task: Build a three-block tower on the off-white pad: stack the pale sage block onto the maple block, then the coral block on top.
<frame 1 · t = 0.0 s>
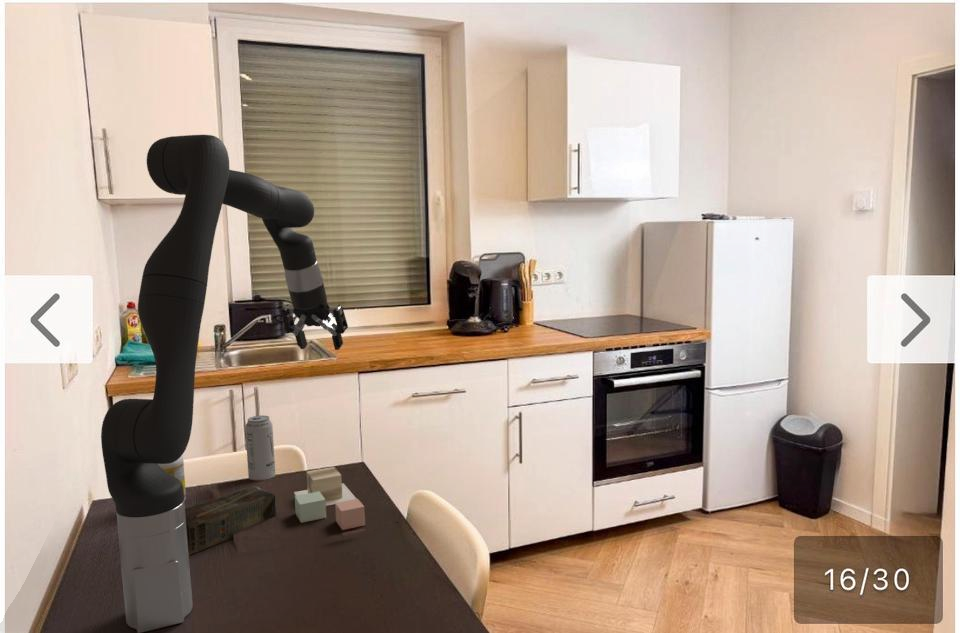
hand: (321, 347, 155), 31 cm above the table, tool tilted 20°, fingers open, 8 cm apart
maple block: (325, 495, 147), point 1 cm above the table, touching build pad
energy drink can: (262, 481, 161), on the table
sage block: (311, 521, 137), on the table
supplement bottle: (169, 503, 148), on the table
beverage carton: (225, 534, 133), on the table
coral block: (350, 529, 133), on the table
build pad: (325, 501, 147), on the table
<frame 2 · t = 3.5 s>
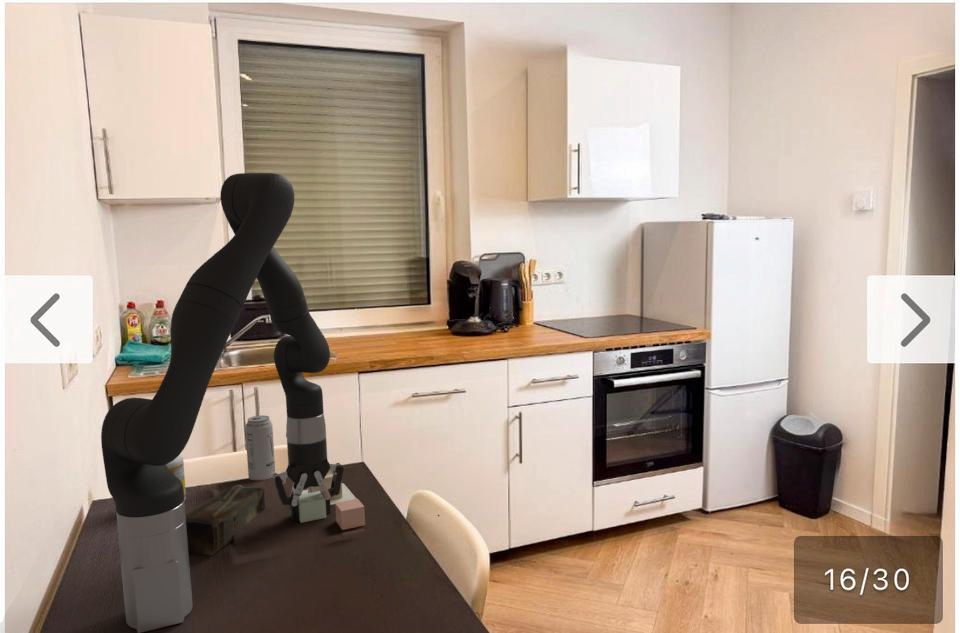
hand: (311, 518, 137), 0 cm above the table, tool pointing down, fingers closed on sage block, 5 cm apart
sage block: (311, 521, 137), on the table, touching gripper
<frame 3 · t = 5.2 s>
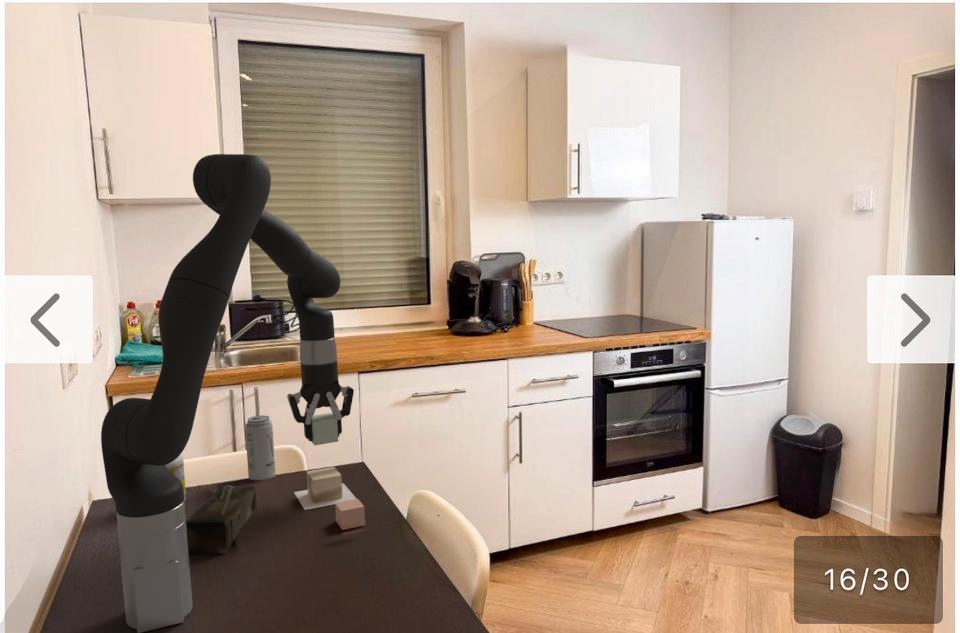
hand: (323, 437, 145), 14 cm above the table, tool pointing down, fingers closed on sage block, 5 cm apart
sage block: (323, 440, 145), point 14 cm above the table, touching gripper
when the fingers open (7 cm above the table, at t = 7.1 s): sage block stays where it is, resting on maple block.
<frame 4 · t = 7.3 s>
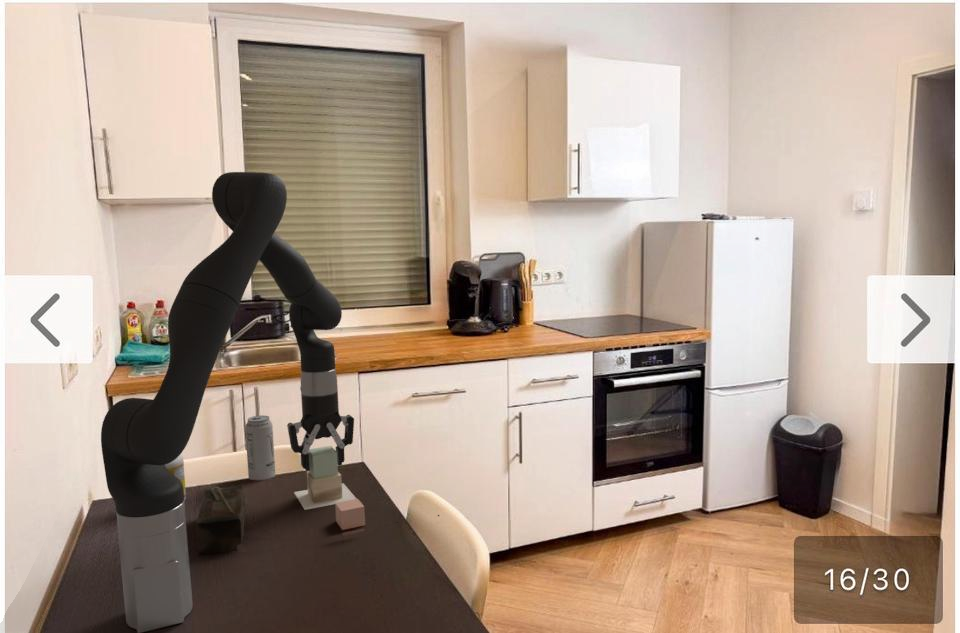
hand: (323, 466, 146), 8 cm above the table, tool pointing down, fingers open, 6 cm apart
maple block: (325, 495, 147), point 1 cm above the table, touching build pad, sage block
sage block: (323, 473, 146), point 6 cm above the table, touching maple block
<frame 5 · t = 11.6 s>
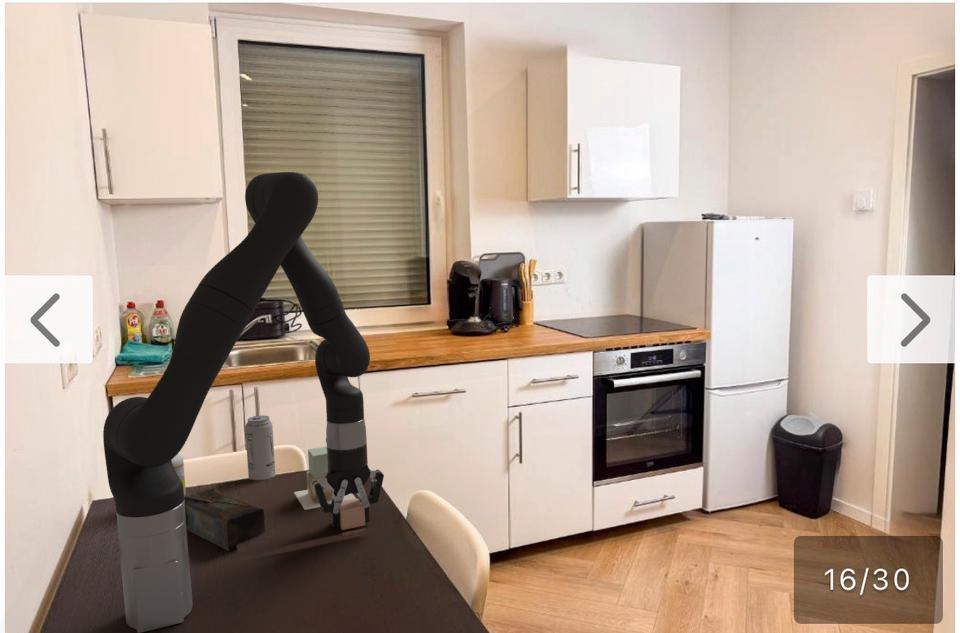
hand: (350, 527, 133), 0 cm above the table, tool pointing down, fingers closed on coral block, 4 cm apart
coral block: (350, 529, 133), on the table, touching gripper
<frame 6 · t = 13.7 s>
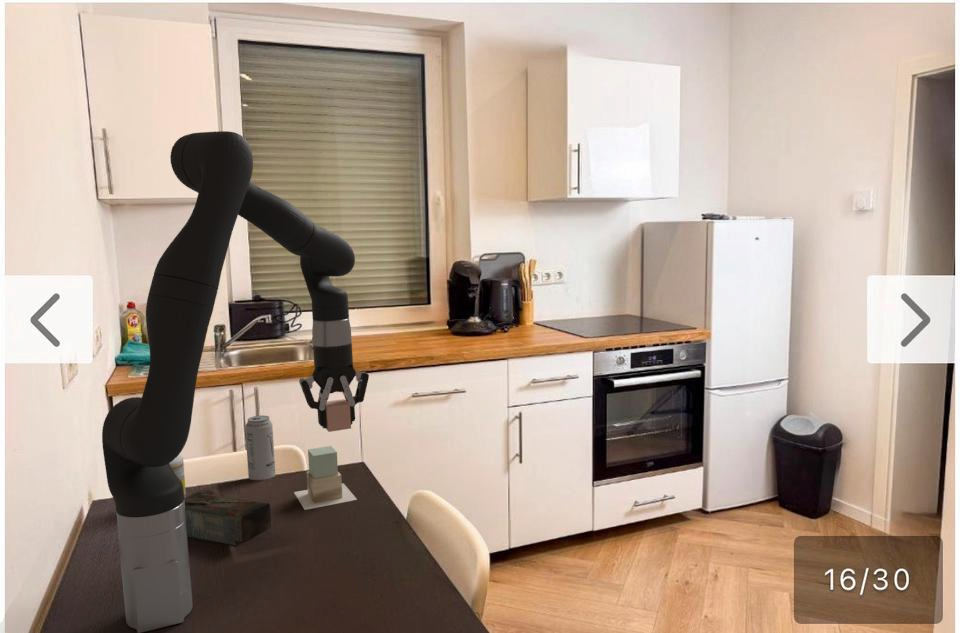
hand: (337, 425, 138), 19 cm above the table, tool pointing down, fingers closed on coral block, 4 cm apart
coral block: (337, 427, 138), point 18 cm above the table, touching gripper
when the fingers open (12 cm above the table, at t = 16.0 s): coral block stays where it is, resting on sage block.
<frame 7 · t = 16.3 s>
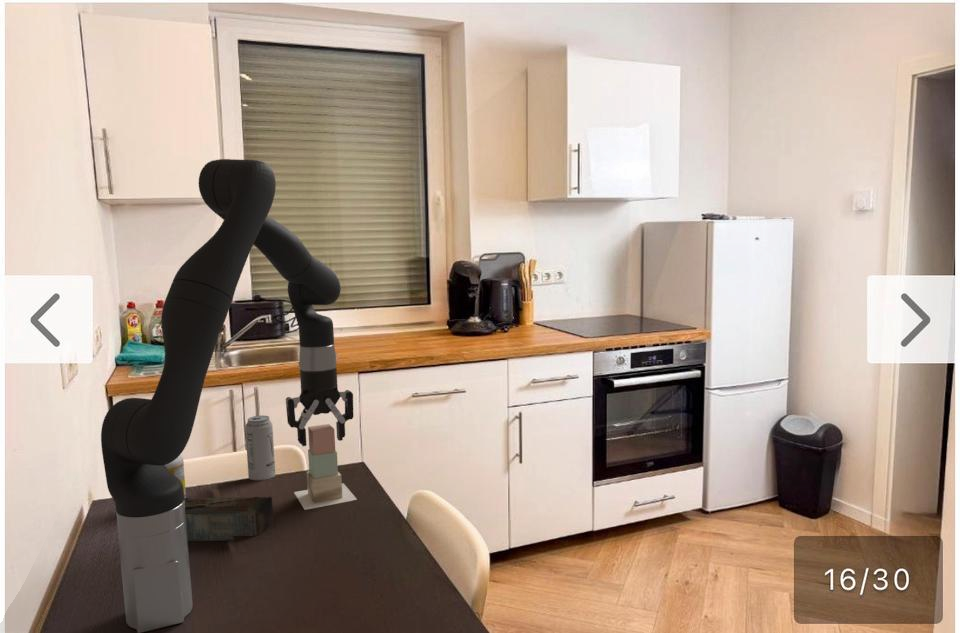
hand: (322, 442, 146), 13 cm above the table, tool pointing down, fingers open, 7 cm apart
sage block: (323, 473, 146), point 6 cm above the table, touching coral block, maple block
coral block: (322, 450, 146), point 11 cm above the table, touching sage block
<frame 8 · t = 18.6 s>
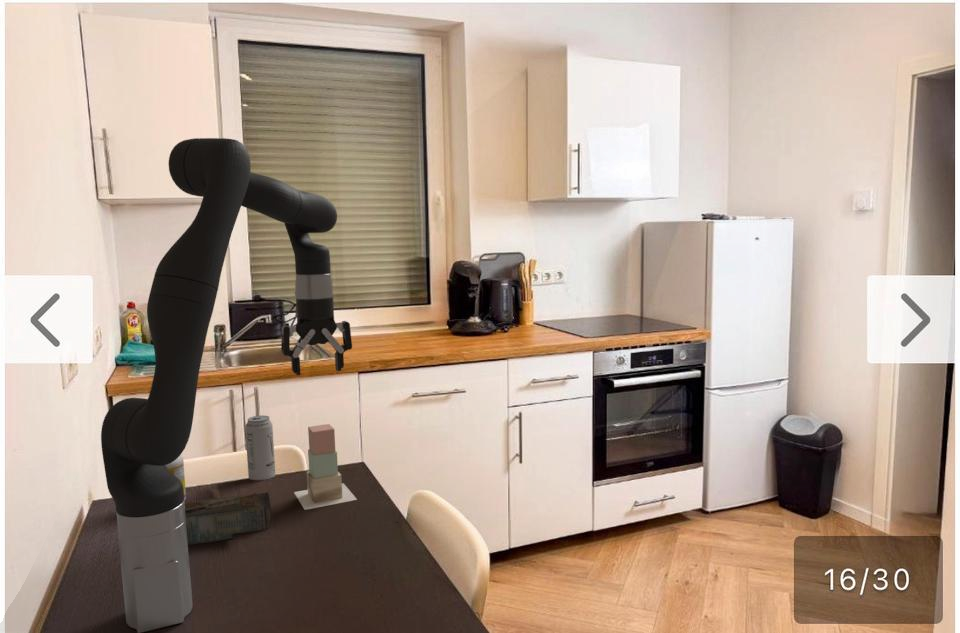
hand: (318, 372, 144), 28 cm above the table, tool pointing down, fingers open, 8 cm apart
at the end: sage block 0.1 cm off-centre on the maple block, point 5.0 cm above the maple block's base; coral block 0.0 cm off-centre on the sage block, point 5.0 cm above the sage block's base; coral block tilted 0° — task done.
